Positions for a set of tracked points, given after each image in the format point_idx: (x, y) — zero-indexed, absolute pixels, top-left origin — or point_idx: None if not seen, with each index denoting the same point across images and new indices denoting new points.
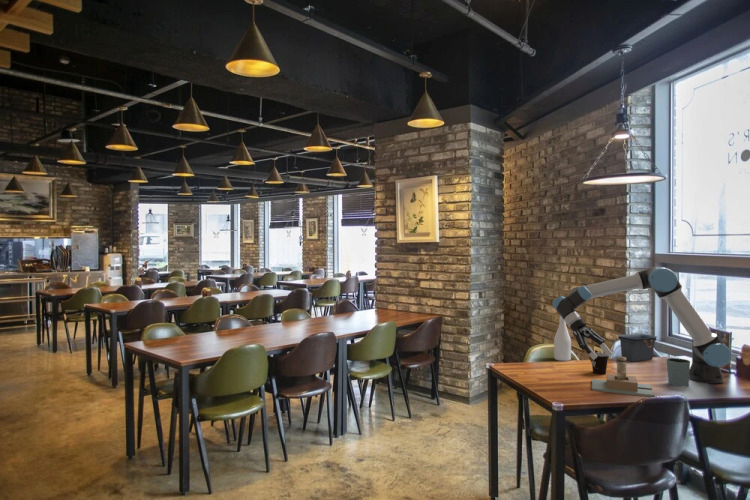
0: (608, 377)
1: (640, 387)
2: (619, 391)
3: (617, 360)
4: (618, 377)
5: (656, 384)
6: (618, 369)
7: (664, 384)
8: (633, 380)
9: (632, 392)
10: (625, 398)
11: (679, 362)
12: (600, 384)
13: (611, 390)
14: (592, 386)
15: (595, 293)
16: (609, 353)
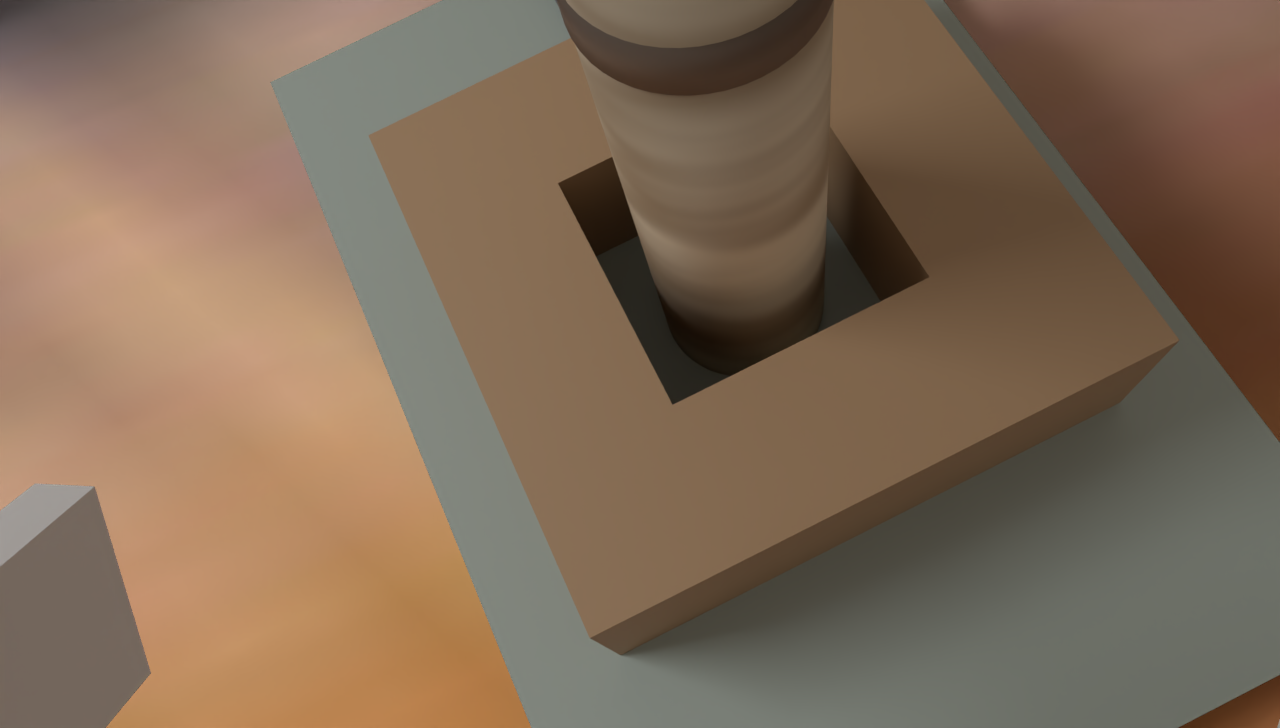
0: (919, 425)
1: None
2: (1081, 183)
3: (813, 13)
4: (822, 237)
5: (87, 109)
6: (827, 138)
7: (17, 49)
8: None
9: (958, 33)
10: (1262, 21)
11: None
12: (949, 628)
13: (1162, 288)
14: (1262, 668)
15: None
16: (86, 591)
